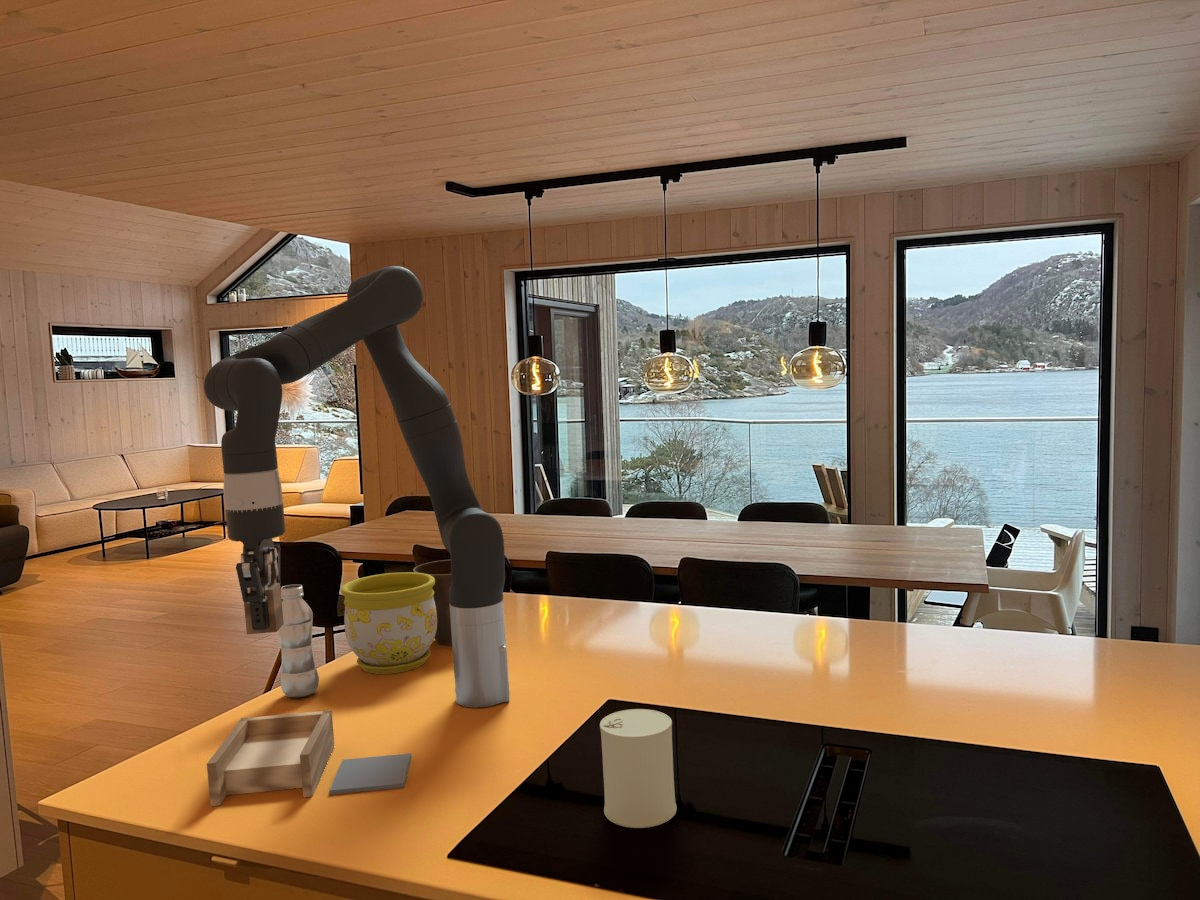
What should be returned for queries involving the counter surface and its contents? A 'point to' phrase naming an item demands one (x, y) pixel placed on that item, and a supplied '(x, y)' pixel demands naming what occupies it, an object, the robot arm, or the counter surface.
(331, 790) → the mat
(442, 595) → the plant pot
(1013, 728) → the counter surface
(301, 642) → the plastic bottle
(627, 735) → the can
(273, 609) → the block
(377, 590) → the flowerpot
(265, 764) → the crate
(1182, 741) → the counter surface
